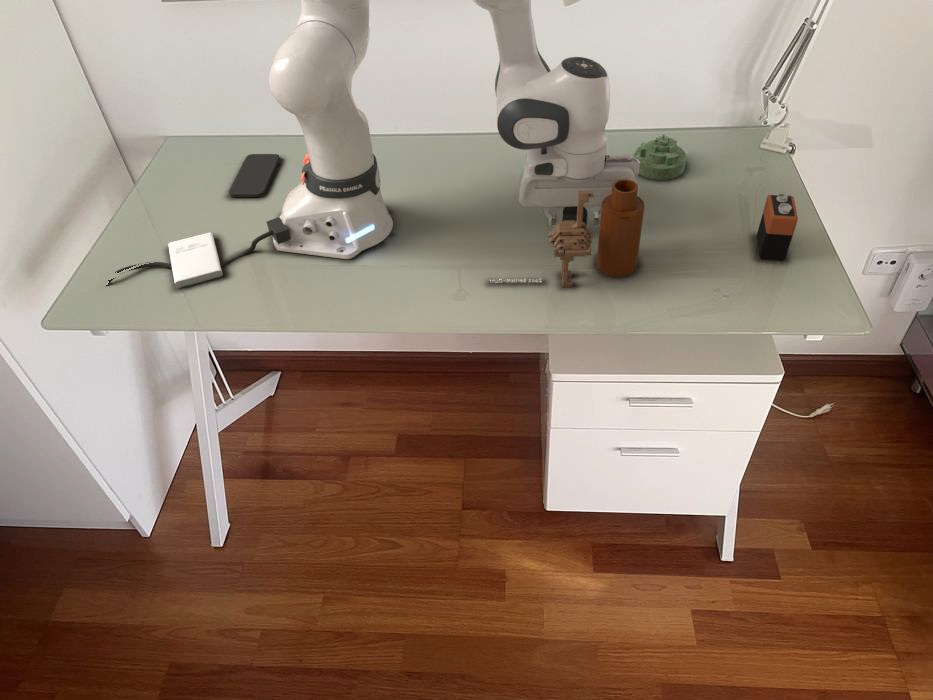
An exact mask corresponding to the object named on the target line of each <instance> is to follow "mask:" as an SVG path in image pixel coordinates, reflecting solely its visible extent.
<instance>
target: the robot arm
mask: <svg viewBox="0 0 933 700" xmlns="http://www.w3.org/2000/svg"><path fill="white" fill-rule="evenodd" d="M472 1H473V2H474V4H476V5H477V6H479V7H480V8H481V9H484V10H486V11H488V13H489V15H490V18H491V22H492V27H493V30H494V35H495V36H494V37H495V40H496V45H497V50H498V55H499V64H498V67H497V71H496V75H495V78H494V79H495V81H494V91H495V97H496V127H497V131H498V134H499V136H500V137H501V139H502V140H503V141H504V142H505V143H506V144H507V145H509V146H510V147H512V148H514V149H517V150H521V151H522V150H524V151H527V152H526V161H525V163H524V164H523V166H522V168H521V169H522V170H521V172H520V173H521V174H520V180H519V189H518V190H519V191H518V202H519V204H520V205H521V206H522V207H523V208H542V212H543V213H544V215H545V216H546V217H547V219H548V220H547V221H548V226H556V224H557V223H558V214H557V212H553V211H552V208H565V207H578V191H586V190H591V191H592V192H593V193H594V197H590V198H589V202H586V203H585V204H584V205H583V207H600V208H599V210H598V211H593V214H592V215H593V217H592V223H593V225H594V226H600V218H601V207H602V201H603V200H604V198H605V197H607V196H608V195H610V194H612V184H613V183H614V182H615V181H617V180H620V179H629V180H632V181H634V182H636V178H637V177H638V176H639V175H640V174H639V171H640V162H639V160H638V159H637V158H635V156H633V155H631V154H621V155H619V154H607V153H606V152H607V141H608V140H607V139H608V138H607V133H606V126H607V124H608V121H609V116H610V105H611V86H610V78H609V75H608V72H607V71H606V69H605V68H604V67H603V66H602V65H601V64H600V63H599V62H597V61H595V60H594V59H591V58H587V57H583V56H572V57H571V56H570V57H566V58H564V59H563V60H562V61H561V62H560V63H559V64H558V65H557V66H555V68H553V69H552V70H551V68H550V67H549V65H548V63H547V62H546V61H545V59H544V57H543V56H542V55H541V53H540V51H539V48H538V45H537V39H536V33H535V27H534V20H533V13H532V0H472ZM300 2H301V4H300V15H299V18H298V21H297V23H296V25H295V28H294V30H293V31H292V32H291V33H290V34H289V36H288V37H287V38H286V39H285V41H284V42H283V43H282V45H281V46H280V47H279V48H278V50H277V51H276V53H275V56H274V59H273V61H272V63H271V68H270V71H269V74H268V84H269V85H268V86H269V89H270V91H271V94H272V96H273V98H274V99H275V101H276V102H277V103H278V104H279V105H280V106H281V107H282V108H283V109H284V110H285V111H287V112H288V113H290V114H293V115H294V116H295V118H296V121H298V124H299V126H300V128H301V131H302V134H303V137H304V141H305V146H306V149H307V153H306V154H305V156H304V158H303V166H302V169H301V176H300V180H301V182H300V183H299V184H298V185H296V186H294V188H292V189H291V190H290V192H289V193H288V194H287V196H286V198H285V200H284V202H283V205H282V208H281V209H282V210H281V214H280V215H279V216H278V217H277V216H276V217H275V218H273V219H269V220H267V221H266V226H267V229H268V231H266V232H265V233H262V234H260V235H259V236H257V237H255V238H254V239H253V240H252V241H251V245H250V247H249V248H247V249H245V250H244V251H243V252H241V253H240V254H239V255H236V256H234V257H232V258H230V259H227V260H225V261H222V262H220V266H221V268H223V267H226V266H227V265H229V264H231V263H233V262H235V261H236V260H239V259H240V258H243V257H245V256H248V255H249V254H251V253H252V252H253V251H254V250H255V249H256V247H257V244H258V243H259V242H261V241H263V240H265V239H267V238H269V237H271V236H272V241H273V242H272V243H273V246H274V248H275V249H276V250H277V251H280V252H285V253H292V254H301V255H309V256H310V255H311V256H318V257H326V258H332V259H333V258H334V259H342V260H351V259H353V258H355V257H356V256H358V255H359V254H360V253H361V252H362V251H365V250H367V249H369V248H372V247H374V246H377V245H378V244H380V243H381V242H383V241H384V240H385V239H386V238H388V236H389V235H391V232H392V230H393V226H394V221H393V218H392V217H391V215H390V213H389V210H388V208H387V206H386V203H385V200H384V198H383V194H382V190H381V184H382V183H381V174H380V168H379V166H378V161H377V157H376V155H375V153H374V150H373V144H372V138H371V133H370V125H369V121H368V117H367V116H366V114H365V113H364V112H363V111H362V110H361V109H359V108H358V105H357V104H356V102H355V99H354V96H353V92H352V83H353V78H354V75H355V73H356V72H357V70H358V68H359V67H360V66H361V64H362V62H363V61H364V59H365V58H366V54H367V52H368V51H367V50H368V47H369V42H370V36H371V29H370V0H300ZM150 262H151V261H150ZM150 262H149V261H148V263H149V264H144V265H141V266H139V267H136V268H134V269H131V270H129V271H128V272H130V271H134V270H140V269H145V268H152V267H159V268H161V267H162V268H167V269H171V270H172V265H171V263H168V262H163V261H153V262H154V263H150ZM137 264H138V265H139V264H140V263H137ZM137 264H132V265H127V266H124V267H122V268H120V269H118V270H116V271H114V272H115V273H116V272H117V273H119V272H121V271H123V270H124V269H125V270H126V269H129V268H131V267H133V266H136V265H137ZM114 279H115V278H113V279H111V280H108V281H109V283H108V284H109V285H110V284H111V283H112V282H113V280H114ZM109 285H106V286H105V287H108V286H109Z"/></svg>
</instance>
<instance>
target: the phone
mask: <svg viewBox="0 0 933 700" xmlns="http://www.w3.org/2000/svg"><path fill="white" fill-rule="evenodd" d="M280 160H281V158H280V154H277V153H251V154H248V155H246V156H245V158H244V160H243V162H242V165H241V166H240V168H239V170H238V172H237V174H236V176H235V178H234V180H233V181H232V184H231V186H230V187H229V190H228V194H229V197H231V198H262V197H263V196H264V195H265V194H266V192H267V189H268V187H269V185H270V183H271V180H272V178H273V177H274V174H275V172H276V169H277V167H278V165H279V163H280Z"/></svg>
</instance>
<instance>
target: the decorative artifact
mask: <svg viewBox="0 0 933 700" xmlns="http://www.w3.org/2000/svg"><path fill="white" fill-rule="evenodd" d="M677 142H678V141H677V140H676V139H674V138H671V137H669V136H666V135H665V134H662V135H661V136H658V137H656V138H654V139H652V140H649V141H647V142H643V141H642V142H641V144H640V146H639V147H637V149H636V150H635V152H634V158H637V159H638V160H639V162H640V171H639V174H638V175H640V176H642V177H644V178H647V179H650V180H656V181H668V180H673V179H675V178H678V177H679V176H681V175H682V174H683V173H684V171H685V167H686V163H687V162H686V161H687V153H686V152H685V150H684V149H683V148H682V147H680V146H678V144H677Z"/></svg>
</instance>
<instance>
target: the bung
mask: <svg viewBox="0 0 933 700" xmlns="http://www.w3.org/2000/svg"><path fill="white" fill-rule="evenodd" d="M577 208H578V207H563V209H562V221H561V222H563V221H567V220H575V221H576V222H577ZM582 222H584V223H585V224H586V227H588V226H587V224H588V210H587V208H586V206H583V220H582Z"/></svg>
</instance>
